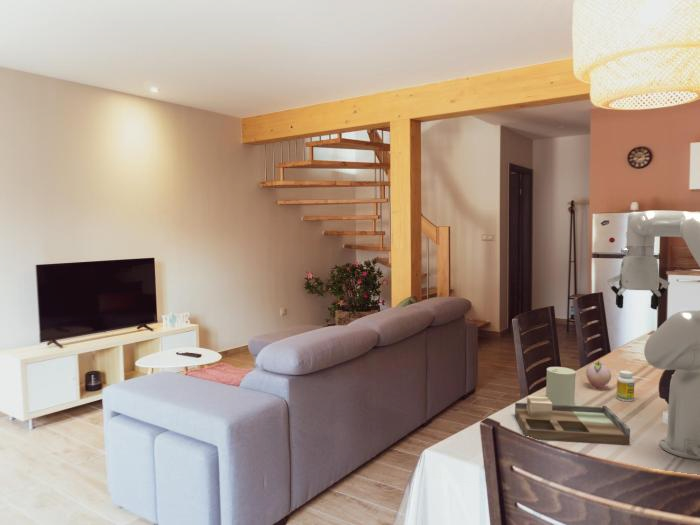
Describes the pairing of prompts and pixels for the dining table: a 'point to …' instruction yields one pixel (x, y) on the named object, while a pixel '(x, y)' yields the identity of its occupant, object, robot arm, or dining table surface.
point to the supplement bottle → (625, 386)
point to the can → (560, 385)
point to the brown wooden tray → (575, 425)
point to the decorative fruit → (598, 375)
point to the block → (539, 407)
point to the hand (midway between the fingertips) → (636, 308)
